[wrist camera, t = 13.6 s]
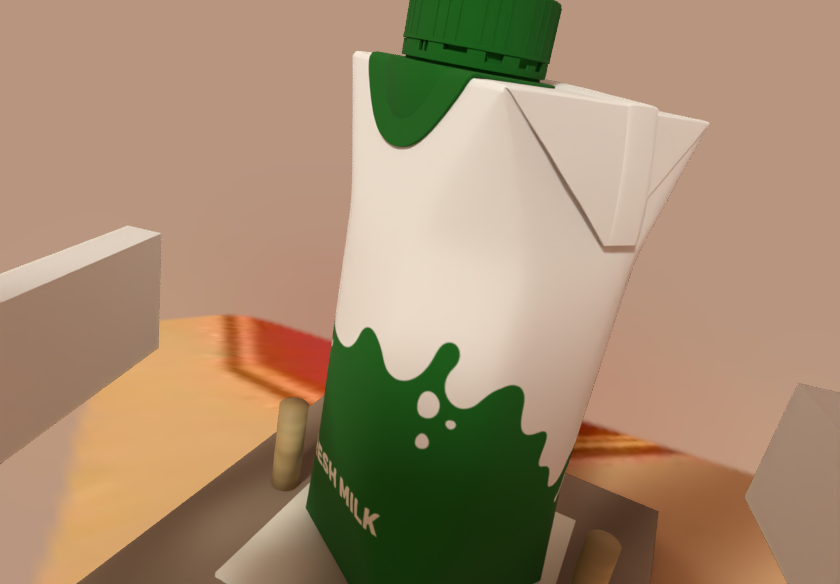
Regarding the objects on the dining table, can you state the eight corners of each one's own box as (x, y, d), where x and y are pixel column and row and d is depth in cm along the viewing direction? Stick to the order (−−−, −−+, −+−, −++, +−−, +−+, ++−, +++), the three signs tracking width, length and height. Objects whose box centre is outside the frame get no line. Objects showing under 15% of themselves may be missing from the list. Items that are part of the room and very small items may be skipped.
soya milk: (276, 500, 25) (336, -30, 18) (451, 456, 30) (553, 26, 23) (373, 687, 19) (530, -29, 11) (576, 591, 24) (776, 49, 16)
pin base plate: (648, 535, 30) (686, 443, 28) (586, 1004, 14) (661, 874, 12) (339, 403, 36) (352, 319, 34) (56, 633, 20) (49, 503, 18)
